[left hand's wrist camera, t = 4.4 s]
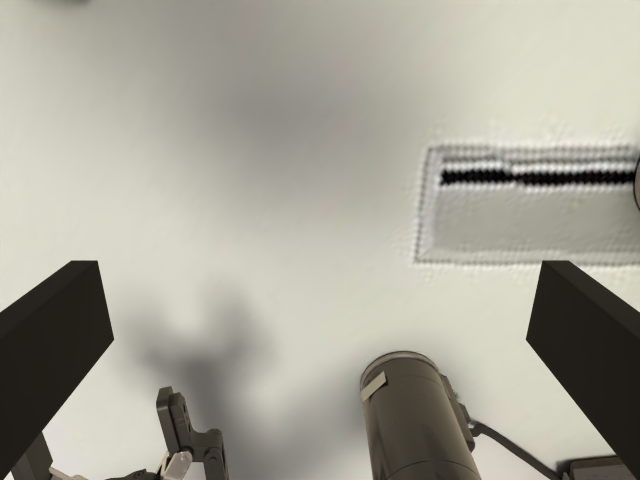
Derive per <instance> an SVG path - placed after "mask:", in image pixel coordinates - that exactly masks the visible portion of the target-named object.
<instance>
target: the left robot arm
mask: <svg viewBox="0 0 640 480" xmlns="http://www.w3.org/2000/svg"><path fill="white" fill-rule="evenodd" d="M113 341H114V336H113V332H112V327H111V322H110V318H109V313H108V308H107V303H106V299H105V294H104V289H103V285H102V280H101V275H100V270H99V266H98V261H70V262H69V263H67V264H66V265H65V266H63V267H62V268H61V269H59V270H58V271H57V272H55V273H54V274H52V275H51V276H50V277H48V278H47V279H46V280H44V281H43V282H41V283H40V284H39V285H37V286H36V287H35V288H33V289H32V290H30V291H29V292H28V293H26V294H25V295H24V296H22V297H21V298H19V299H18V300H17V301H15V302H14V303H13V304H11V305H10V306H9V307H7V308H6V309H4V310H3V311H2V312H0V480H4V478H5V477H6V476H7V475H8V473H9V472H10V471H11V470H12V468H13V467H14V466H15V464H16V463H17V462H18V461H19V459H20V458H21V457H22V456H23V454H24V453H25V452H26V451H27V449H28V448H29V447H30V446H31V444H32V443H33V442H34V440H35V439H36V438H37V437H38V435H39V434H40V433H41V432H42V430H43V429H44V428H45V427H46V425H47V424H48V423H49V421H50V420H51V419H52V418H53V416H54V415H55V414H56V413H57V411H58V410H59V409H60V408H61V406H62V405H63V404H64V403H65V401H66V400H67V399H68V397H69V396H70V395H71V394H72V392H73V391H74V390H75V389H76V387H77V386H78V385H79V384H80V382H81V381H82V380H83V378H84V377H85V376H86V375H87V373H88V372H89V371H90V370H91V368H92V367H93V366H94V365H95V363H96V362H97V361H98V360H99V358H100V357H101V356H102V354H103V353H104V352H105V351H106V349H107V348H108V347H109V346H110V344H111V343H112V342H113ZM526 341H527V342H528V343H529V344H530V346H531V347H532V348H533V349H534V351H535V352H536V353H537V354H538V356H539V357H540V358H541V360H542V361H543V362H544V363H545V365H546V366H547V367H548V368H549V370H550V371H551V372H552V373H553V375H554V376H555V377H556V378H557V380H558V381H559V382H560V384H561V385H562V386H563V387H564V389H565V390H566V391H567V392H568V394H569V395H570V396H571V397H572V399H573V400H574V401H575V403H576V404H577V405H578V406H579V408H580V409H581V410H582V411H583V413H584V414H585V415H586V416H587V418H588V419H589V420H590V421H591V423H592V424H593V425H594V427H595V428H596V429H597V430H598V432H599V433H600V434H601V435H602V437H603V438H604V439H605V440H606V442H607V443H608V444H609V446H610V447H611V448H612V449H613V451H614V452H615V453H616V454H617V456H618V457H619V458H620V459H621V461H622V462H623V463H624V464H625V466H626V467H627V468H628V470H629V471H630V472H631V473H632V475H633V476H634V477H635V478H636V480H640V312H638V311H637V310H636V309H634V308H633V307H631V306H630V305H629V304H627V303H626V302H625V301H623V300H622V299H621V298H619V297H618V296H616V295H615V294H614V293H612V292H611V291H610V290H608V289H607V288H605V287H604V286H603V285H601V284H600V283H599V282H597V281H596V280H594V279H593V278H592V277H590V276H589V275H588V274H586V273H585V272H583V271H582V270H581V269H579V268H578V267H577V266H575V265H574V264H573V263H571V262H570V261H542V266H541V270H540V275H539V280H538V285H537V289H536V294H535V299H534V303H533V308H532V313H531V318H530V322H529V327H528V332H527V336H526Z"/></svg>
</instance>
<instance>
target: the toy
mask: <svg viewBox="0 0 640 480" xmlns="http://www.w3.org/2000/svg"><path fill="white" fill-rule="evenodd" d="M563 480H636V478H635V477H634V476H633V475H632V473H631V472H630V471H629V470H628V468H627V467H626V466H625V464H624V463H623V462H622V461H621V459H620V458H619V457H611V458H601V459H591V460H582V461H573V462H572V463H571V465H570V473H569V477H568V475H567V473H566V472H564V473H563Z"/></svg>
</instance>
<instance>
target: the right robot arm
mask: <svg viewBox="0 0 640 480" xmlns="http://www.w3.org/2000/svg"><path fill="white" fill-rule="evenodd" d="M360 390H361V398H362V402H363V406H364V415H365V423H366V430H367V438H368V445H369V453H370V460H371V468H372V475H373V480H482V479H481V477H480V474H479V472H478V469H477V467H476V464H475V462H474V459H473V457H472V455H471V453H472V451H473V450H474V448H475V442H474V439H473V437H477V436H479V435H480V433H482V434H485V435H487V436H489V437H491V438H493V439H494V440H496V441H497V442H499V443H500V444H501V445H503V446H504V447H505V448H507V449H508V450H509V451H511V452H512V453H514V454H515V455H516V456H518V457H519V458H521V459H522V460H524V461H525V462H527V463H528V464H530V465H531V466H532V467H534V468H535V469H536V470H538V471H539V472H540V473H542V474H543V475H545V476H546V477H547V478H549V479H551V480H563V478H562V477H560V476H558V475H556V474H555V473H553V472H551V471H550V470H548V469H547V468H546V467H544V466H543V465H542V464H540V463H539V462H538V461H536V460H535V459H534V458H532V457H531V456H529V455H528V454H527V453H525V452H524V451H522V450H521V449H519V448H518V447H516V446H515V445H514V444H512V443H511V442H510V441H508V440H507V439H506V438H504V437H503V436H501V435H500V434H499V433H497V432H495V431H494V430H492V429H490V428H488V427H486V426H483V425H476V426H475V427H474V428H473V429H472V428H468V425H467V424H468V423H469V422H470V421H471V419H470V417H469V414H468V412H467V410H466V408H465V406H464V405H463V404H461V403H459V402H457V399H456V397H455V395H454V392H453V390H452V388H451V385H450V383H449V381H448V378H447V377H444V376H442V375H440V372H439V370H438V368H437V367H436V366H435V364H434V363H433V362H431V361H430V360H429V359H427V358H426V357H424V356H422V355H419V354H416V353H410V352H397V353H392V354H388V355H385V356H383V357H381V358H379V359H377V360H376V361H374V362H373V363H372V364H371V365H370V366H369V367H368V368H367V369H366V371H365V372H364V374H363V376H362V379H361V384H360ZM156 408H157V413H158V416H159V420H160V423H161V427H162V430H163V434H164V438H165V441H166V445H167V448H168V451H167V452H166V454H165V456H164V457H163V459H162V461H161V463H160V465H159V467H158V469H157V470H156V472H155V473H152V472H147V471H146V469H143V470H139V471H136V472H133V473H131V474H129V475H127V476H125V477H122V478H110V479H106V480H182V479H183V477H184V475H185V474H186V472H187V470H188V468H189V466H190V464H191V463H192V462H203V463H204V468H205V474H206V480H229V475H228V469H227V463H226V457H225V450H224V444H223V438H222V433H221V431H220V430H218V429H211V430H209V431H208V432H207V433H198V432H196V431H194V430H193V428H192V426H191V422H190V418H189V414H188V411H187V407H186V403H185V399H184V397H183V396H182V395H181V393H180V392H179V393H175V394H174V393H173V390H172V387H171V386H169V387H165V388H161V389H160V390H159V393H158V397H157V401H156ZM52 462H53V460H52V457H51V454H50V452H49V449H48V446H47V444H46V441H45V438H44V436H43V433H42V432H41V433H40V434H39V435H38V437H37V438H36V439H35V440H34V442H33V443H32V444H31V446H30V447H29V448H28V449H27V451H26V452H25V453H24V454H23V456H22V457H21V458H20V459H19V461H18V462H17V463H16V464H15V466H14V467H13V468H12V470H11V473H12V475H13V477H14V480H88V479H86V478H84V477H82V476H80V475H75V476H73V477H69V476H68V475H66V474H64V473H62V472H60V471H58V470H56V469H54V468H52V467H51V464H52Z"/></svg>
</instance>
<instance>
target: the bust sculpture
mask: <svg viewBox="0 0 640 480" xmlns="http://www.w3.org/2000/svg"><path fill="white" fill-rule="evenodd" d="M635 194H636V199H637V203H638V205H639V207H640V163H639V165H638V169H637V173H636V178H635Z"/></svg>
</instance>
